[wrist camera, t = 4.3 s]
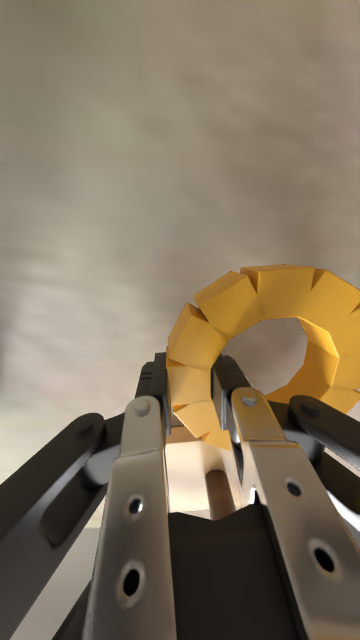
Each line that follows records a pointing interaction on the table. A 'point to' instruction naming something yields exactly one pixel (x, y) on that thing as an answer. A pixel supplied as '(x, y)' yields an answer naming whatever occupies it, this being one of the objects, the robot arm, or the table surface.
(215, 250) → the table surface
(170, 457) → the wooden dowel peg stand
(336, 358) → the pineapple ring
